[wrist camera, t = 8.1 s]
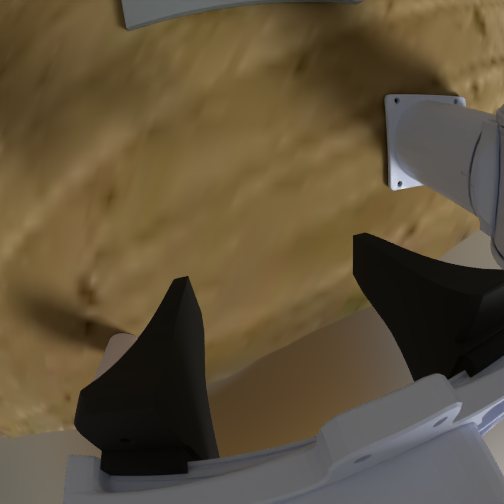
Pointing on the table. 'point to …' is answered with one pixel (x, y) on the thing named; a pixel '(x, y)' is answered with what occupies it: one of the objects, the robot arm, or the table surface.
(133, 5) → the holder
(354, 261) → the robot arm
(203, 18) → the table surface
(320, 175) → the table surface
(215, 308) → the table surface
